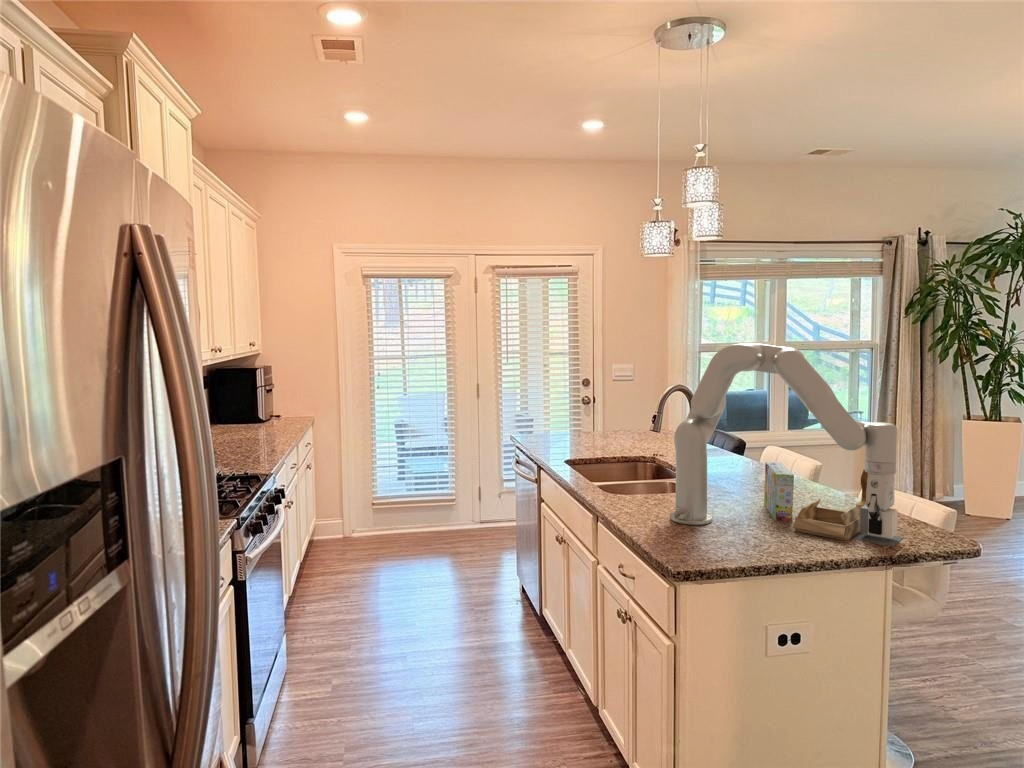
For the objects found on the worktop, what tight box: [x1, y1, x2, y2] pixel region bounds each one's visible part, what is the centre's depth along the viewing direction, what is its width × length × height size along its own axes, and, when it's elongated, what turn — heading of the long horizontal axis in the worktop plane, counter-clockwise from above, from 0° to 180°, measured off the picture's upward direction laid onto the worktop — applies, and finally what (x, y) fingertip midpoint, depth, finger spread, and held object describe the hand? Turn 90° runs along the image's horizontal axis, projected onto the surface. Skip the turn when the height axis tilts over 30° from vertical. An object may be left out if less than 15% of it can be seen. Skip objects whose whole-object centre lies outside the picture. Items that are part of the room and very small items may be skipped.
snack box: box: [763, 461, 795, 522], centre depth 213 cm, size 21×6×15 cm, turn 168°
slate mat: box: [853, 532, 904, 547], centre depth 185 cm, size 10×10×1 cm
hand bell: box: [855, 468, 868, 509], centre depth 204 cm, size 8×8×16 cm
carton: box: [793, 498, 861, 541], centre depth 194 cm, size 20×14×7 cm
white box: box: [859, 505, 899, 538], centre depth 185 cm, size 5×8×7 cm, turn 46°
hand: (878, 530), depth 185 cm, fingers closed on white box, 5 cm apart
